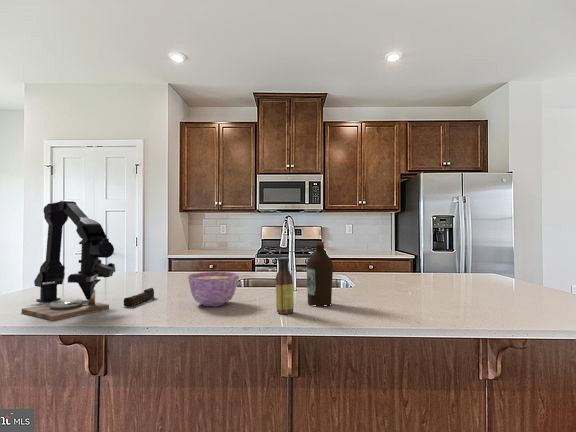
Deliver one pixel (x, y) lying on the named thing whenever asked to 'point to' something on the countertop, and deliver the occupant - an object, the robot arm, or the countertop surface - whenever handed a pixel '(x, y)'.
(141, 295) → the hand tool
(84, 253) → the robot arm
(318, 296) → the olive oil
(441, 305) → the countertop surface
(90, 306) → the dial panel
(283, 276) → the sauce bottle
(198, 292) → the bowl of food
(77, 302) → the dial
